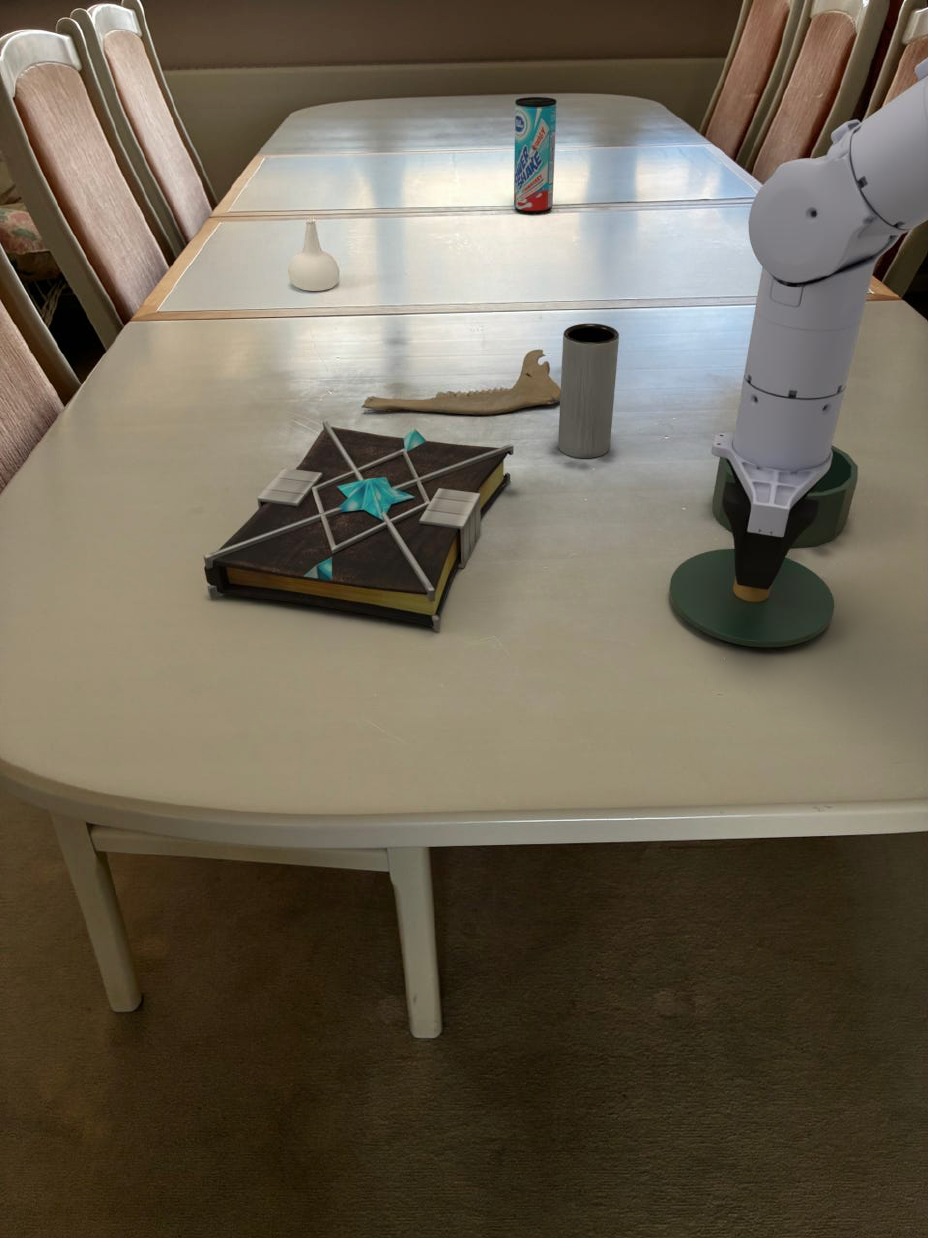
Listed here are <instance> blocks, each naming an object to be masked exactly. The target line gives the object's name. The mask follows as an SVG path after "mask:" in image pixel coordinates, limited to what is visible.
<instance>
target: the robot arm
mask: <svg viewBox="0 0 928 1238" xmlns="http://www.w3.org/2000/svg"><path fill="white" fill-rule="evenodd" d="M914 73H915V76H916V78H917V80H918V81H917V82H915V83H914V84H912V85H911V86H909V87H908V88H907V89H906V90H905V91H902V93H900V94H899V95H898V96H896V97H894V98H893V99H892V100H891V101H889V102H888V103H886V104H884V106H882V107H881V108H879V109H878V110H877V111H875V112H874V113H873V114H871V115H869V116H868V117H867V118H866V119H864V120H863V121H862V122H861V121H860V120H859V119H852V120H849V121H848V120H847V121H845V122H844V123H842V124H841V125H840V126H839V127H837V128H836V129H835V130H833V131H832V132H831V134H830V139H831V141H832V144H831V145H830V147H829V148H828V151H827V152H826V153H827V154H826V155H821V156H819V157H816V158H815V157H814V158H810V157H806V158H798V159H793V160H790V161H787V162H783V163H781V164H780V165H779V166H778V167H777V168H776V170H775V171H774V173H773V174H772V175H771V176H770V177H769V178H768V179H767V180H766V181H765V182H764V183H763V184H762V186H760V188H759V189H758V191H757V193H756V195H755V197H754V199H753V201H752V204H751V206H750V207H751V208H750V211H749V217H748V237H749V243H750V245H751V250H752V252H753V253H754V256H755V258H756V259H757V261H758V263H759V264H760V265H761V273H760V278H759V285H758V290H757V296H756V301H755V308H754V315H753V320H752V326H751V332H750V338H749V344H748V350H747V356H746V362H745V368H744V374H743V377H742V378H743V380H742V385H741V391H740V397H739V404H738V409H737V416H736V421H735V427H734V432H733V433H727V432H718V433H716V434H715V435H714V438H713V441H712V444H711V445H712V446H711V452H710V453H711V455H713V456H714V457H718V458H720V457H724V458H727V459H729V460H730V462H731V464H730V469H731V471H732V474H733V477H734V480H735V483H731V482H726V484H725V488H724V492H723V497H722V504H723V509H724V512H725V514H726V516H727V518H728V520H729V523H730V526H731V529H732V532H731V533H732V538H733V549H734V557H735V576H736V581H737V584H738V585H741V586H747V587H752V588H758V589H764V590H768V589H769V588H770V586H771V585H772V583H773V581H774V580H775V578H776V576H777V574H778V572H779V570H780V568H781V565H782V563H783V561H784V559H785V558H787V555H788V553H789V551H790V550H791V546H792V545H793V543H794V542H795V541H796V539H797V538H798V537H799V536H800V535H801V534H802V533H803V532H804V531H805V530H806V529H807V528H808V527H809V526H810V525H811V524H812V523H813V522H814V520H815V519H816V517H817V515H818V510H819V501H817V500H810V499H805V498H806V497H807V495H808V494H809V493H810V491H811V490H812V489H813V488H814V487H815V486H816V484H817V483H818V482H819V481H820V480H821V477H822V476H823V475H824V474H825V473H826V472H827V471H828V470H829V468H830V465H831V461H832V457H833V453H832V450H831V446H832V445H833V442H834V437H835V434H836V429H837V425H838V420H839V417H840V412H841V408H842V404H843V401H844V395H845V391H846V388H847V382H848V379H849V374H850V370H851V366H852V361H853V357H854V353H855V349H856V345H857V341H858V336H859V332H860V328H861V324H862V320H863V316H864V312H865V307H866V302H867V299H868V298H867V297H868V294H869V289H870V286H871V281H872V278H873V273H874V270H875V267H876V265H877V262H878V261H879V259H880V258H881V257H882V256H883V255H884V254H885V253H886V252H887V251H889V250H890V249H892V248H893V246H894V245H895V244H896V243H897V242H898V241H899V239H900V237H901V236H902V235H903V234H906V233H909V232H910V231H912V230H914V229H915V228H917V227H918V226H920V225H922V224H923V223H925V222H927V221H928V56H927V57H926V58H924V59H923V60H922V61H921V62H919V63H918V64H917V65H916V66H915V67H914Z"/></svg>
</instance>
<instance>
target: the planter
mask: <svg viewBox="0 0 928 1238" xmlns="http://www.w3.org/2000/svg"><path fill="white" fill-rule="evenodd" d="M619 343H620V333H619V332H618V330H617V329H615V328H614V327H612V326H610V325H606V324H601V323H578V324H574V325H571V326H569V327H567V328H565V329H564V331H563V334H562V352H561V354H562V355H561V376H560V389H561V393H560V400H559V416H558V417H559V418H558V437H557V438H558V440H557V441H558V442H557V443H558V444H557V445H558V448H559V450H560V451H561V452H562V453H563V454H565V455H566V456H570V457H573V458H578V459H592V458H598V457H601V456H603V455H605V454H607V452H609V450H610V447H611V438H612V437H611V436H612V426H613V414H614V413H613V412H614V403H615V402H614V401H615V390H616V379H617V366H618V353H619Z"/></svg>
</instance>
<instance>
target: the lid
mask: <svg viewBox="0 0 928 1238" xmlns="http://www.w3.org/2000/svg"><path fill="white" fill-rule="evenodd" d="M669 597H670V601H671V602H672V606H673V607H674V609H675V610H676V611H677V613H678V614H679V615H680V617H682V618H683V619H684V620H685V621H686V622H687V623H688V624H690V625H691V626H693V627H694V628H696V629H697V630H699V631H701V632H703V633H705V634H706V635H709V636H710V637H714V638H716V639H718V640H721V641H724V642H728V643H731V644H735V645H740V646H745V647H746V646H747V647H752V648H781V647H783V648H784V647H789V646H794V645H798V644H801V643H805V642H807V641H810V640H812V639H814V638H816V637H817V636H819V635H820V634H821V633H822V632H824V631H825V630H826V628H828V626H829V625H830V623H831V621H832V619H833V616H834V612H835V599H834V595H833V593H832V591H831V589H830V588H829V586H828V585H827V583H826V582H825V581H824V580H823V579H822V578H821V577H820V576H819V575H818V574H817V573H815V571H813V570H812V569H810V568H808V567H807V566H805V565H803V564H801V563H799V562H797V561H795V560H793V559H790V558H788V557H785V559H784V561H783V563H782V565H781V568H780V570H779V572H778V574H777V576H776V578H775V580H774V581H773V583H772V585H771V586H770V588H769V589H768V590H764V589H758V588H752V587H747V586H741V585H738V584H737V581H736V576H735V557H734V548H722V549H715V550H708V551H705V552H702V553H699V554H696V555H694V556H692V557H690V558H688V559H686V560H685V561H683V562H682V563H681V564H680V565H679V566H677V568H676V569H675V570H674V571H673V573H672V575H671V578H670V582H669Z"/></svg>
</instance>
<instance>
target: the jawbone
mask: <svg viewBox="0 0 928 1238" xmlns="http://www.w3.org/2000/svg"><path fill="white" fill-rule="evenodd" d="M542 357H546V354H544V350H543V349H533V350H531V351H528V352H527V353H526V354H525V356H524V358H523V360H522V365H521V371H520V375H519V377H518V379H517V381H516V383H515V384H514V385H513V386H512V388H507V387H505V388H504V387H503V386H500V388H499V389H498V388H497V387H494V388H492V389H491V388H488V389H487V390H485V389H481V391H479V390H478V389H477V390H475V391H473V390H469V391H468V392H466V391H464V392H461V391H460V390H458V391H456V392H454V391H451V390H448V391H446V392H444V391H439V392H437V393H436V396H435V397H432V398H427V399H401V398H385V397H384V398H383V397H380V396H379V397H378V396H374V395H372V396H367V397H366V399H365V400H364V403H363V404H362V405H361V406H360V407H361V408H362V409H370V410H382V411H385V412H393V411H398V410H408V411H412V412H425V413H426V412H428V413H444V414H455V415H456V414H458V415H477V416H489V415H499V414H505V413H511V412H514V411H517V410H520V409H524V408H529V407H535V406H542V405H554V404H556V403H558V402H560V393H561V387H560V386H559V385H558V383H556V382H555V380H553V379H552V378H551V376H550V371H551V367H550V362H549V361H548V360H545V361H543V362H542V364H539V360H540V359H541V358H542Z"/></svg>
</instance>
